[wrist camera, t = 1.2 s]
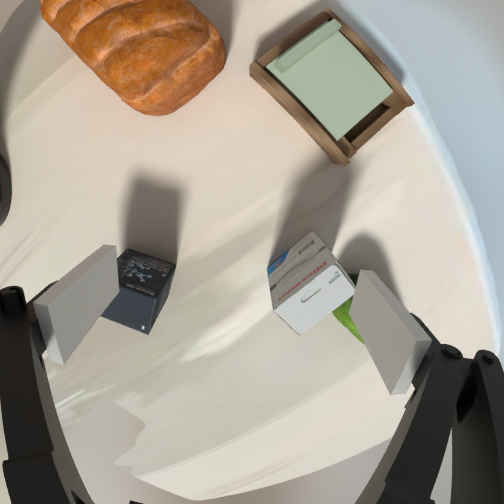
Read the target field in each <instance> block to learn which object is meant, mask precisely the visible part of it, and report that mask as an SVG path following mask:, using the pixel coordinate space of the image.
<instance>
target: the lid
mask: <svg viewBox="0 0 504 504" xmlns="http://www.w3.org/2000/svg"><path fill="white" fill-rule="evenodd" d="M341 26H342V25H341V24H340V23H339V22H338V21H337V20H335V19H333V20H331V21H330V22H328V21H326V22H324V23H323V24H321V25H320V26H318V27H317V28H316V29H314V30H313V31H311V32H310V33H308V34H307V35H306V36H304V37H303V38H302V39H300V40H299V41H298V42H296V43H295V44H294V45H292V46H291V47H290V48H288V49H287V50H286V51H284V52H283V53H282V54H281V55H279V56H278V57H277V58H276V59H274V60H273V61H272V62H271V63H269V64H268V65H267V66H266V67H265V69H266V70H268V71H269V72H270V73H271V74H272V75H273V76H274V77H275V78H276V79H277V80H278V81H279V82H280V83H281V84H282V85H283V86H284V87H285V88H286V89H287V90H288V91H289V92H290V93H291V94H292V95H293V96H294V97H295V98H296V99H297V100H298V101H299V102H300V103H301V104H302V105H303V106H304V107H305V108H306V109H307V110H308V111H309V112H310V113H311V114H312V115H313V116H314V118H315V119H316V120H317V121H318V122H319V123H320V124H321V125H322V126H323V127H324V128H325V130H326V131H327V132H328V133H329V134H330V135H331V136H332V138H333V139H334V140H335V141H338V140H339V139H340V138H341V137H342V136H343V135H344V134H346V133H347V132H348V131H349V130H350V129H351V128H352V127H353V126H355V125H356V124H357V123H358V122H359V121H360V120H361V119H362V118H364V117H365V116H366V115H367V114H368V113H369V112H370V111H372V110H373V109H374V108H375V107H376V106H377V105H378V104H380V103H381V102H382V101H383V100H384V99H385V98H387V97H388V96H389V95H390V94H391V93H392V92H393V91H392V89H391V88H390V87H389V86H388V84H387V83H386V82H385V81H384V80H383V78H382V77H381V76H380V75H379V74H378V72H377V71H376V70H375V69H374V68H373V67H372V66H371V64H370V63H369V62H368V61H367V60H366V59H365V58H364V57H363V56H362V55H361V54H360V52H359V51H358V50H357V49H356V48H355V47H354V46H353V45H352V44H351V43H350V42H349V41H348V40H347V39H346V38H345V37H344V36H343V35H342V34H341V33H340V32H339V31H338V30H339V29H340V27H341Z"/></svg>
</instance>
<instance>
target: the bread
mask: <svg viewBox="0 0 504 504" xmlns="http://www.w3.org/2000/svg"><path fill="white" fill-rule="evenodd" d="M40 3H41V8H40V10H41V15H42V18H43V19H44V20H45V21H46V22H47V23H48V24H49V25H50V26H51V27H52V28H53V29H54V30H55V31H56V32H58V33H59V35H60V36H61V37H62V39H63V40H64V41H65V42H66V44H67V45H68V46H69V47H70V48H71V49H72V50H73V51H74V52H75V53H76V54H77V55H78V57H79V58H80V59H81V60H82V61H83V62H84V63H85V64H86V65H87V66H88V67H89V68H91V69H92V70H93V71H94V72H95V74H96V75H97V76H98V77H99V78H100V79H101V80H102V81H103V82H104V83H105V84H106V85H107V86H108V87H110V88H111V89H112V90H113V91H115V92H116V93H117V95H118V96H119V97H120V98H121V99H122V101H124V102H125V103H126V104H128V105H129V106H131V107H132V108H133V109H135V110H136V111H139V112H141V113H143V114H145V115H152V116H162V115H168V114H170V113H172V112H175V111H176V110H177V109H179V108H180V107H182V106H183V105H184V104H186V103H187V102H188V101H190V100H191V99H192V98H194V97H195V96H196V95H198V94H199V93H200V92H201V91H202V90H203V89H204V88H205V87H206V86H207V85H208V84H209V83H210V82H211V81H212V80H213V79H214V78H215V77H216V76H217V75H218V74H219V73H220V72H221V71H222V70H223V68H224V64H225V60H226V51H225V46H224V42H223V39H222V37H221V35H220V34H219V32H218V31H217V29H216V28H215V27H214V26H213V25H212V24H211V22H210V21H209V20H208V19H207V18H206V17H205V16H204V15H203V14H202V13H201V12H200V11H199V10H198V9H197V8H196V7H195V6H194V5H192V4H191V3H190V2H189V1H187V0H40Z"/></svg>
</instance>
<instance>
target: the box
mask: <svg viewBox="0 0 504 504" xmlns="http://www.w3.org/2000/svg"><path fill="white" fill-rule="evenodd" d="M175 268H176V265H174V264H171V263H168V262H165V261H162V260H159V259H157V258H154V257H151V256H148V255H145V254H142V253H139V252H137V251H134V250H132V249H129V248H128V249H127V250H126V251H125V252H123V253H122V254H121V255H120V256H119V257H118V258H117V269H118V282H119V293H118V294H117V295H116V297H115V298H114V299H113V300H112V302H111V303H110V304H109V305H108V307H107V308H106V309H105V311H104V312H103V313H102V314H101V317H104V318H107V319H109V320H111V321H114V322H117V323H119V324H122V325H124V326H127V327H130V328H132V329H135V330H137V331H140V332H142V333H145V334H149V333H150V331H151V329H152V327H153V325H154V323H155V321H156V319H157V317H158V315H159V313H160V311H161V309H162V307H163V305H164V303H165V302H166V300H167V298H168V295H169V291H170V287H171V283H172V279H173V276H174V272H175Z"/></svg>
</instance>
